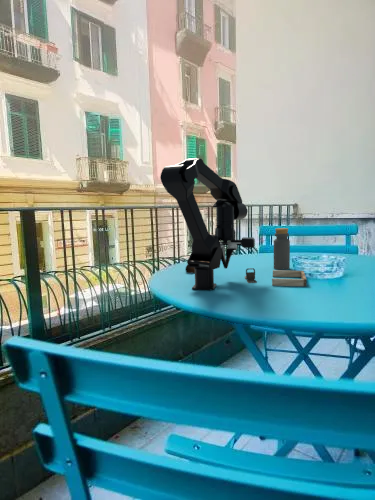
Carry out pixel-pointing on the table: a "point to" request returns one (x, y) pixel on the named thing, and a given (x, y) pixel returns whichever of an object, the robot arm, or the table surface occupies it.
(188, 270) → the sweet potato
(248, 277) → the strap clip
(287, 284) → the display frame
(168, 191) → the robot arm
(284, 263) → the bottle
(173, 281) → the table surface
